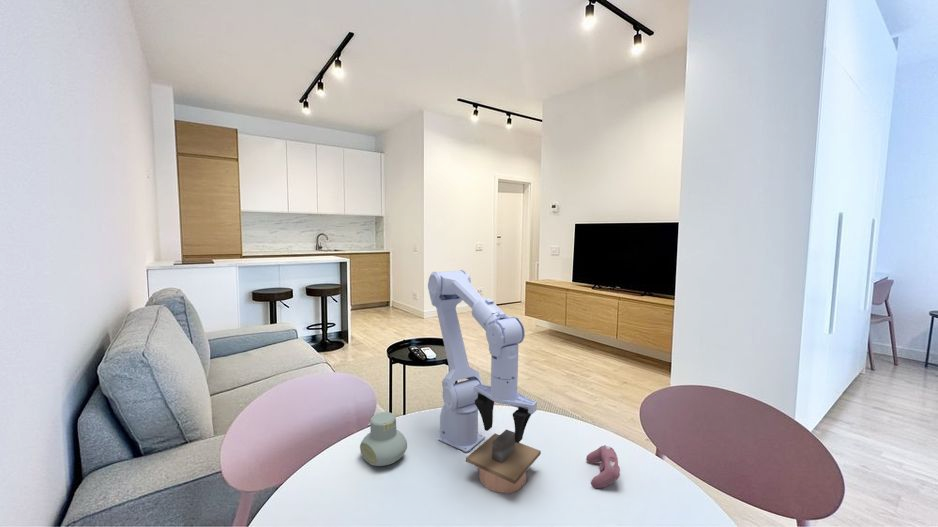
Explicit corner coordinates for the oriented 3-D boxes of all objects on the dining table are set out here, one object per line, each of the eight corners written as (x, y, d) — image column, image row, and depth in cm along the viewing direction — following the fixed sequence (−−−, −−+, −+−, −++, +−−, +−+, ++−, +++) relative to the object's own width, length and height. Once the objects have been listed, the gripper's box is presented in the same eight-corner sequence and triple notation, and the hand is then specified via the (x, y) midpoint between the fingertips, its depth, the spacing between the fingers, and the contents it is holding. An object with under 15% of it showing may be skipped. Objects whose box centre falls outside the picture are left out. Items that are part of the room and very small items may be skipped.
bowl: (470, 479, 80) (471, 462, 79) (494, 456, 88) (495, 440, 87) (511, 499, 74) (511, 480, 73) (533, 472, 82) (533, 455, 82)
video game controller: (609, 498, 76) (627, 472, 75) (589, 486, 77) (606, 460, 76) (601, 468, 86) (617, 444, 85) (584, 458, 87) (599, 434, 86)
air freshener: (356, 455, 88) (355, 415, 87) (385, 441, 94) (385, 403, 93) (381, 477, 80) (381, 433, 79) (412, 460, 86) (411, 419, 85)
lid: (465, 461, 79) (466, 440, 79) (494, 436, 89) (495, 417, 89) (514, 484, 72) (515, 461, 72) (540, 454, 82) (541, 433, 82)
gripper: (543, 376, 78) (541, 437, 79) (486, 361, 86) (485, 416, 87) (528, 387, 72) (526, 453, 73) (468, 370, 80) (467, 429, 82)
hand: (503, 434), depth 80 cm, fingers open, 7 cm apart
